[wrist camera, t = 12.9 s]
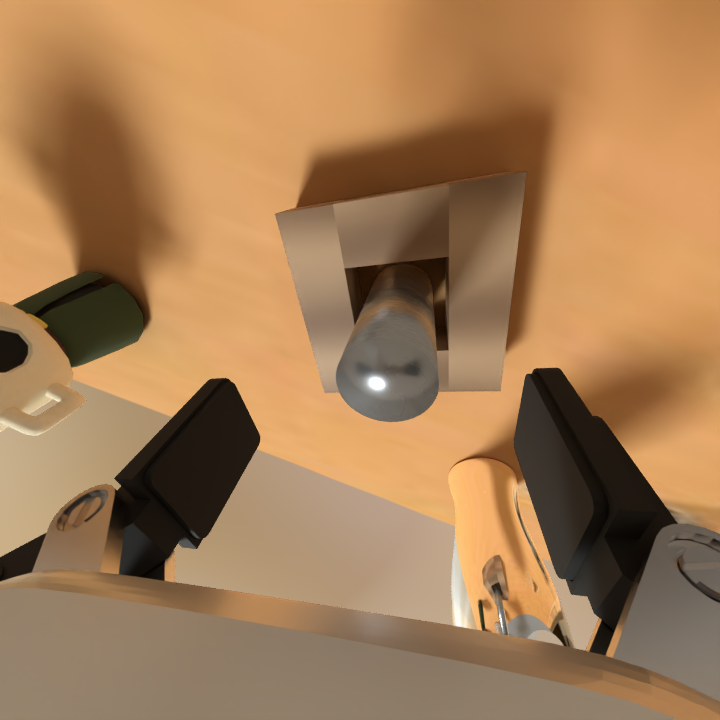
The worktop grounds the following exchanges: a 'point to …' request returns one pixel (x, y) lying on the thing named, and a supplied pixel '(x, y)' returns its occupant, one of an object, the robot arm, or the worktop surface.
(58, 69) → the worktop surface
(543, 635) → the beer glass
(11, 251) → the worktop surface
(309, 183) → the worktop surface
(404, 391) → the metal peg
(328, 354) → the square ring frame
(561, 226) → the worktop surface
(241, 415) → the robot arm
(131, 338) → the character mug
